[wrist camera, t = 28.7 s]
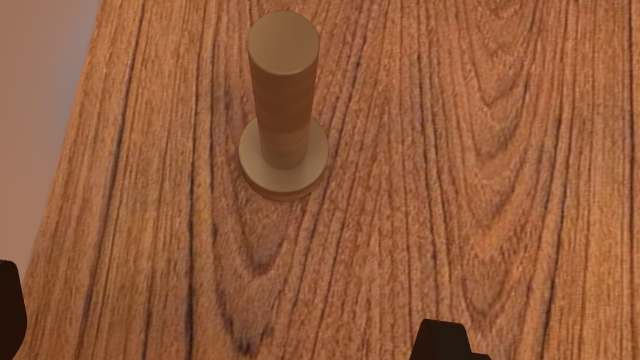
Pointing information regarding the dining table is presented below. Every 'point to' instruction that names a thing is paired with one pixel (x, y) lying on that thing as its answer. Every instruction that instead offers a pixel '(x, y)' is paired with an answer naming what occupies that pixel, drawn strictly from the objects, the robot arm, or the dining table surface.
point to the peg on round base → (283, 109)
